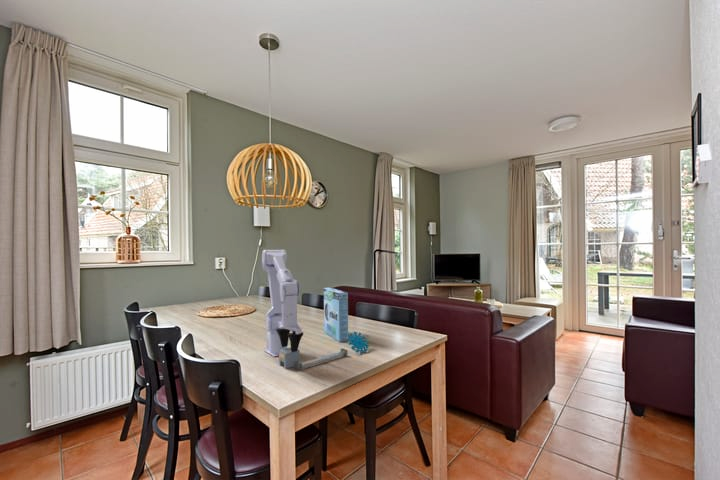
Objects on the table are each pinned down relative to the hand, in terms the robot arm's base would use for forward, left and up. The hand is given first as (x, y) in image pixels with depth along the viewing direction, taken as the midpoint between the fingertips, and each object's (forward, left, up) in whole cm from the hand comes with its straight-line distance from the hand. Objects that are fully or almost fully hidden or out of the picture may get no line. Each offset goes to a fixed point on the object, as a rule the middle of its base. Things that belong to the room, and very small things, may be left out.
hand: (289, 349), depth 120 cm
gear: (+6, +30, -6) cm, 31 cm away
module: (0, 0, -6) cm, 6 cm away
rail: (+6, +11, -6) cm, 14 cm away
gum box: (-18, +35, -6) cm, 40 cm away
